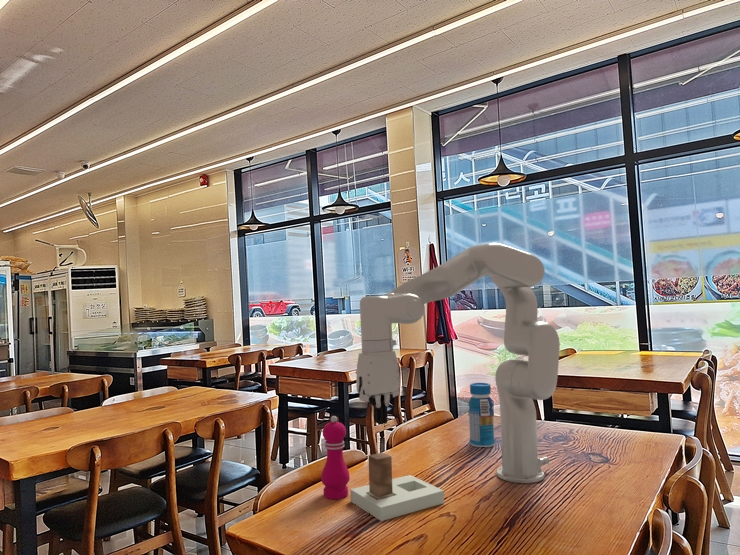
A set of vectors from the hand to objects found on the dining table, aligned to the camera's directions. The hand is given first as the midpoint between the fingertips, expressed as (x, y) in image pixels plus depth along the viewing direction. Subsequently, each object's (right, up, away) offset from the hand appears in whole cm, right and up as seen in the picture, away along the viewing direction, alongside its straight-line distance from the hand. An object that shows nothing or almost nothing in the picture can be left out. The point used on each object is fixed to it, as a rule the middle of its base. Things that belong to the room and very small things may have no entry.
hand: (380, 422), depth 129 cm
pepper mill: (-11, -21, +7) cm, 25 cm away
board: (+4, -20, +1) cm, 20 cm away
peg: (0, -20, -1) cm, 20 cm away
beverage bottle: (+35, -21, +49) cm, 64 cm away
